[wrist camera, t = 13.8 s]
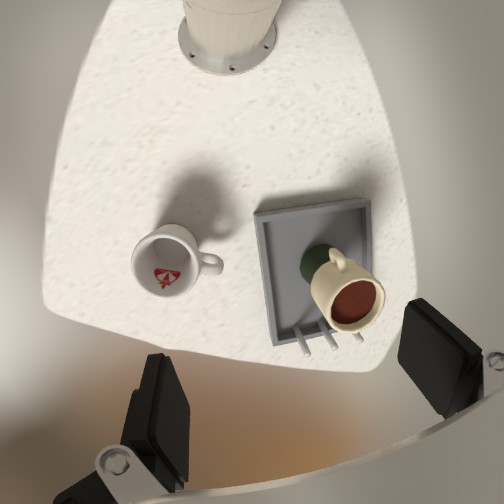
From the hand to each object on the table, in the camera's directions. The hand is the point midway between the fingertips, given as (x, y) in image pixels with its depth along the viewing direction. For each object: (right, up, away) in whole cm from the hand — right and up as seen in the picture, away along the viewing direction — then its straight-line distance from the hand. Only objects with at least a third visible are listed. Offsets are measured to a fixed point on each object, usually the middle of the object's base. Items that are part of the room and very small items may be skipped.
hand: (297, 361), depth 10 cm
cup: (-11, +5, +30) cm, 32 cm away
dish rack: (+8, +1, +33) cm, 34 cm away
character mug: (+8, +3, +32) cm, 33 cm away
